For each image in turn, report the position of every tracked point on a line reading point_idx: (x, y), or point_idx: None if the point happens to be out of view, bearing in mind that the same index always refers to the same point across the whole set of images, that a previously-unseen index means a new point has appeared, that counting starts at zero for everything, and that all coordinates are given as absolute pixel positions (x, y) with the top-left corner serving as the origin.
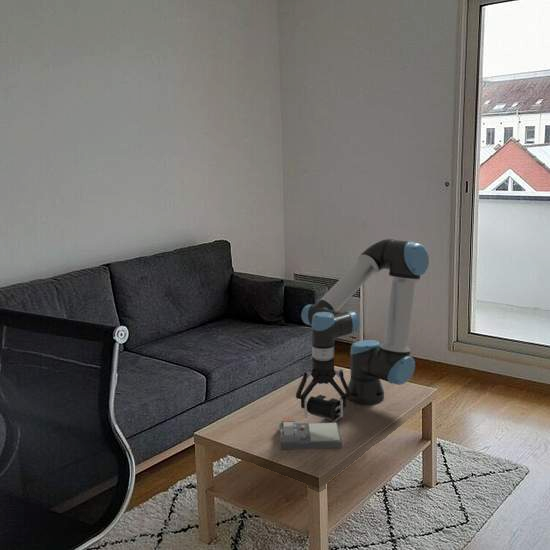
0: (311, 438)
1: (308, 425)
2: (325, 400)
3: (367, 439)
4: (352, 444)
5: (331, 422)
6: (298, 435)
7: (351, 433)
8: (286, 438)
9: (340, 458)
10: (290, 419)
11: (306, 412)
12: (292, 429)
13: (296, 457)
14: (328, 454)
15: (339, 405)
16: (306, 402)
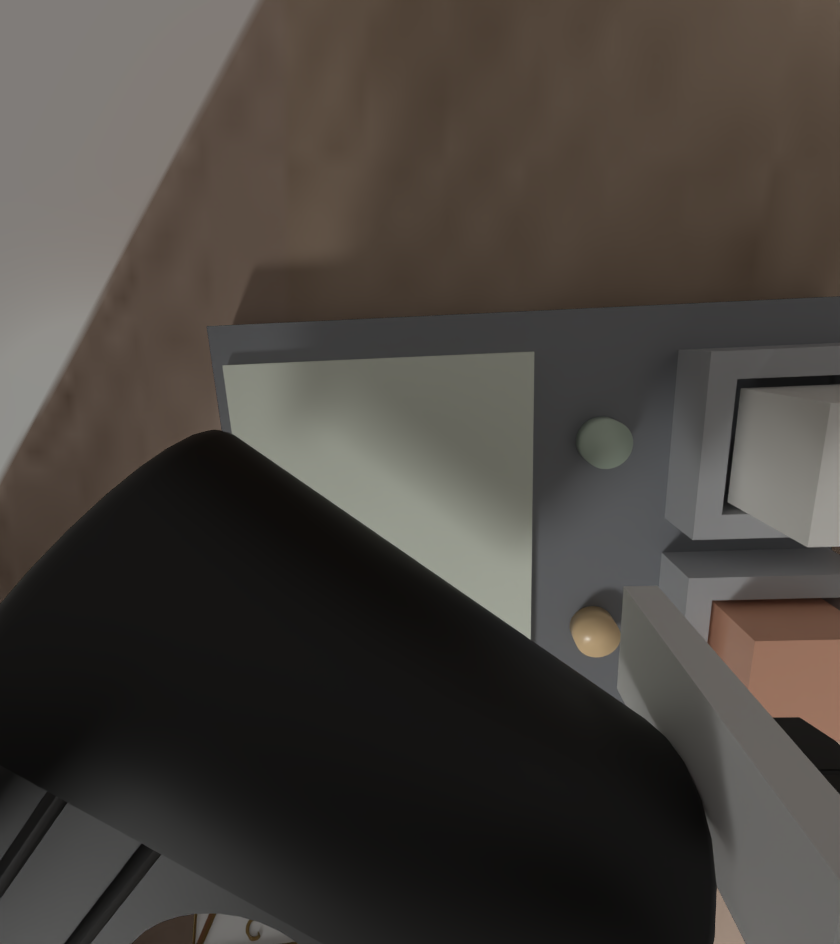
0: (524, 396)
1: None
2: (233, 876)
3: (14, 482)
4: (137, 391)
5: None
6: (648, 487)
7: None
8: (828, 344)
9: (238, 93)
10: (778, 682)
11: (671, 638)
12: (813, 397)
13: (688, 119)
14: (358, 186)
15: (198, 935)
16: (810, 824)
